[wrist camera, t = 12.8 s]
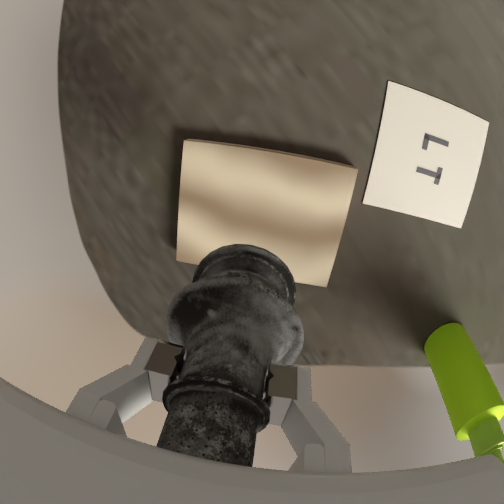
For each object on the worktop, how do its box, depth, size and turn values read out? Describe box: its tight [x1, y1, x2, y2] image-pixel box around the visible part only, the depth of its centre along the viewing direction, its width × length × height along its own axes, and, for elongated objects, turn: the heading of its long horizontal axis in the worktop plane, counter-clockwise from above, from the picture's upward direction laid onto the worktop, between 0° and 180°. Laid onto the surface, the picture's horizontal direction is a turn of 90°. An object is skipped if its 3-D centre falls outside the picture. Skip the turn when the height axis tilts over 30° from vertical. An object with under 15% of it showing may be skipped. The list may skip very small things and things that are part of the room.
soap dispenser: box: [424, 323, 504, 463], centre depth 23 cm, size 6×7×20 cm
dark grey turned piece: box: [156, 244, 304, 467], centre depth 10 cm, size 6×6×12 cm
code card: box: [363, 81, 489, 228], centre depth 23 cm, size 11×11×1 cm
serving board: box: [176, 139, 358, 287], centre depth 26 cm, size 11×14×2 cm
